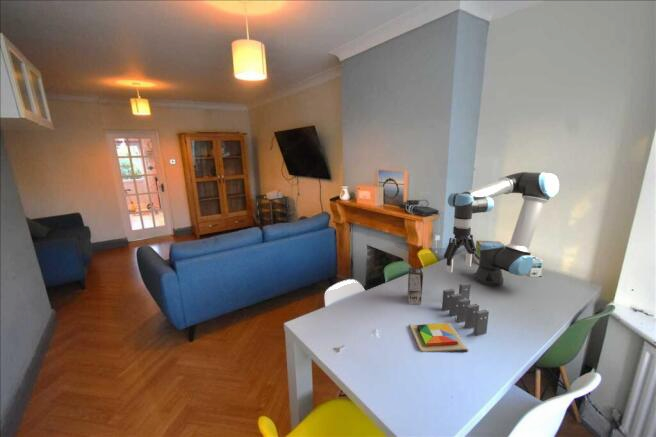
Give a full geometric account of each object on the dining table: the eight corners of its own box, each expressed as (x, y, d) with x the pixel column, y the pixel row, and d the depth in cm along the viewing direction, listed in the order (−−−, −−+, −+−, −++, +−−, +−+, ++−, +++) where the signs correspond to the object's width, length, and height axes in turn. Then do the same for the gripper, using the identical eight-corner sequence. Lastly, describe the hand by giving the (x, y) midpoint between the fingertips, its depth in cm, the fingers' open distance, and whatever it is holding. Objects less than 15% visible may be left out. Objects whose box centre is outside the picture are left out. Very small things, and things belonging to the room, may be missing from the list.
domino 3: (458, 302, 145) (459, 284, 142) (466, 300, 146) (467, 282, 144) (461, 304, 143) (462, 285, 141) (469, 302, 144) (470, 284, 142)
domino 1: (441, 309, 139) (443, 290, 136) (450, 307, 140) (452, 288, 138) (444, 311, 137) (446, 292, 134) (453, 309, 138) (455, 290, 136)
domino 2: (448, 314, 134) (450, 295, 132) (457, 312, 135) (459, 293, 133) (451, 316, 132) (453, 297, 130) (460, 315, 133) (462, 295, 131)
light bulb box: (541, 277, 172) (544, 260, 169) (530, 277, 172) (532, 260, 170) (529, 270, 182) (531, 254, 180) (518, 270, 182) (520, 254, 180)
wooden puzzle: (408, 326, 126) (408, 319, 125) (451, 326, 126) (452, 319, 125) (419, 353, 109) (419, 345, 108) (469, 353, 108) (470, 345, 108)
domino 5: (464, 326, 124) (466, 305, 122) (473, 324, 126) (476, 303, 124) (468, 329, 123) (470, 307, 120) (477, 326, 124) (479, 306, 122)
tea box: (478, 265, 191) (480, 244, 188) (473, 260, 201) (475, 240, 198) (503, 266, 189) (505, 245, 186) (497, 261, 199) (499, 240, 195)
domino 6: (473, 333, 120) (475, 311, 118) (482, 330, 121) (485, 309, 119) (477, 335, 118) (479, 314, 116) (486, 333, 119) (489, 312, 117)
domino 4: (456, 320, 129) (458, 300, 127) (465, 318, 131) (467, 298, 128) (459, 322, 127) (461, 302, 125) (468, 320, 129) (470, 300, 126)
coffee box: (421, 305, 143) (423, 274, 139) (408, 303, 144) (409, 274, 141) (419, 296, 151) (421, 267, 148) (407, 295, 153) (408, 267, 149)
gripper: (471, 221, 144) (468, 261, 149) (437, 228, 133) (434, 271, 138) (486, 224, 138) (482, 265, 143) (450, 232, 126) (447, 276, 131)
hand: (458, 268), depth 140 cm, fingers open, 13 cm apart
